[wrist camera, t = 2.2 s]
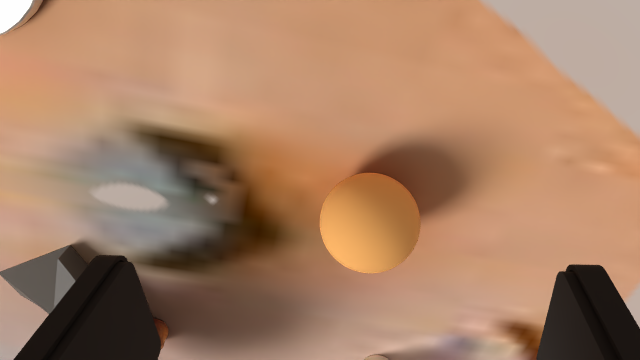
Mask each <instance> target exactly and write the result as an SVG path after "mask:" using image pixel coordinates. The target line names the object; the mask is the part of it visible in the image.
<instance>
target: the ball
mask: <svg viewBox="0 0 640 360" xmlns="http://www.w3.org/2000/svg"><path fill="white" fill-rule="evenodd" d="M320 231H321V236H322V239H323V241H324V244H325V246H326V248H327V249H328V251H329V252H330V254H331V255H332V256H333V257H334V258H335V259H336V260H337V261H338V262H339V263H341V264H342V265H344V266H345V267H347V268H349V269H351V270H354V271H358V272H362V273H379V272H384V271H387V270H390V269H392V268H394V267H396V266H397V265H399V264H400V263H402V262H403V261H404V260H405V259H406V258H407V257H408V256H409V255H410V253H411V252H412V250H413V249H414V247H415V245H416V243H417V241H418V237H419V233H420V214H419V210H418V207H417V204H416V202H415V200H414V198H413V196H412V195H411V194H410V192H409V191H408V190H407V189H406V188H405V187H404V186H403V185H402V184H401V183H399V182H398V181H396V180H395V179H393V178H391V177H389V176H386V175H383V174H378V173H361V174H357V175H353V176H351V177H349V178H346V179H345V180H343V181H341V182H340V183H339V184H338V185H336V186H335V187H334V188H333V189H332V190H331V192H330V193H329V194H328V196H327V198H326V199H325V201H324V204H323V207H322V210H321V214H320Z"/></svg>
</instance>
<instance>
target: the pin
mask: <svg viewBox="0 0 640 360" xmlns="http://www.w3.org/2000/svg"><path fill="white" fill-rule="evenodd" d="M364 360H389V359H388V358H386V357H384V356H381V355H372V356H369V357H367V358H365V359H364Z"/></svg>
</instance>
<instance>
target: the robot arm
mask: <svg viewBox="0 0 640 360" xmlns="http://www.w3.org/2000/svg"><path fill="white" fill-rule="evenodd" d="M42 1H43V0H0V35H3V34H6V33H9V32H11V31H13V30H15V29H16V28H18V27H20V26H22V25H24V24H25V23H26V22H27V21H28V20H29V19H30V18H31V17H32V16H33V15H34V14H35V13H36V12H37V10H38V8H39V6H40V5H41V3H42ZM160 350H161V340H160V336H159V334H158V331H157V328H156V325H155V323H154V320H153V317H152V314H151V312H150V309H149V306H148V303H147V300H146V298H145V295H144V292H143V289H142V287H141V284H140V281H139V278H138V276H137V273H136V270H135V267H134V265H133V264H132V263H131V262H128V261H127V259H126V258H125V257H124V256H114V255H99V256H96V257H95V258H94V259H93V260H92V261H91V262H90V264H89V265H88V266H87V267H86V269H85V270H84V271H83V272H82V274H81V275H80V276H79V278H78V279H77V280H76V281H75V283H74V284H73V285H72V286H71V288H70V289H69V290H68V291H67V293H66V294H65V295H64V296H63V298H62V299H61V300H60V302H59V303H58V304H57V305H56V307H55V308H54V309H53V310H52V312H51V313H50V314H49V315H48V317H47V318H46V319H45V320H44V322H43V323H42V324H41V326H40V327H39V328H38V329H37V331H36V332H35V333H34V334H33V336H32V337H31V338H30V339H29V341H28V342H27V343H26V345H25V346H24V347H23V348H22V350H21V351H20V352H19V353H18V355H17V356H16V357H15V358H14V360H157V359H158V357H159V354H160ZM537 360H640V328H639V326H638V325H637V323H636V321H635V320H634V318H633V316H632V315H631V313H630V311H629V309H628V308H627V306H626V304H625V303H624V301H623V299H622V298H621V296H620V294H619V293H618V291H617V289H616V287H615V286H614V284H613V282H612V281H611V279H610V277H609V276H608V274H607V272H606V271H605V269H604V268H603V267H602V266H600V265H569V266H568V267H567V269H566V272H563V271H561V272H559V273H558V274H557V277H556V281H555V285H554V289H553V293H552V297H551V301H550V305H549V309H548V313H547V317H546V321H545V325H544V330H543V334H542V338H541V342H540V346H539V350H538V354H537Z"/></svg>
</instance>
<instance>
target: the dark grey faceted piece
mask: <svg viewBox="0 0 640 360" xmlns="http://www.w3.org/2000/svg"><path fill="white" fill-rule="evenodd" d="M87 266H88V264H87V263H86V262H85V261H84V260H83V259H82V258H81V257H80V256H79V254H78V253H77V252H76V251H75V250H74V249H73V248H72V247H71V246H70V245H69V246H66V247H64V248H61V249H59V250H56V251H53V252H51V253H48V254H46V255H43V256H40V257H38V258H35V259H33V260H30V261H27V262H25V263H22V264H20V265H17V266H14V267H12V268H9V269H7V270H4V271H1V272H0V275H1V276H2V277H3V278H4V279H5V280H6V281H7V282H8V283H9V284H10V285H11V286H12V287H13V288H14V289H15V290H16V291H17V292H18V293H19V294H20V295H21V296H23V297H25V298H26V299H28V300H30V301H31V302H33V303H35V304H36V305H38V306H40V307H41V308H42V309H43V310H45V311H46V312H47V313H48V314H50V313H51V312H52V310H53V309H54V308H55V307H56V305H57V304H58V303H59V302H60V300H61V299H62V298H63V296H64V295H65V294H66V293H67V291H68V290H69V289H70V288H71V286H72V285H73V284H74V283H75V281H76V280H77V279H78V278H79V276H80V275H81V274H82V272H83V271H84V270H85V269H86V267H87ZM153 320H154V323H155V325H156V328H157V331H158V334H159V336H160V340H161V349H162V348H163V346H164V342H165V339H166V338H167V336H168V327H167V326H166V324H165V322H163V321H161V320H158V319H157V318H156V319H153ZM157 360H158V359H157Z"/></svg>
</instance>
